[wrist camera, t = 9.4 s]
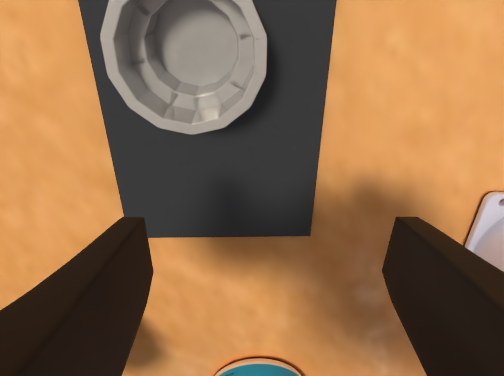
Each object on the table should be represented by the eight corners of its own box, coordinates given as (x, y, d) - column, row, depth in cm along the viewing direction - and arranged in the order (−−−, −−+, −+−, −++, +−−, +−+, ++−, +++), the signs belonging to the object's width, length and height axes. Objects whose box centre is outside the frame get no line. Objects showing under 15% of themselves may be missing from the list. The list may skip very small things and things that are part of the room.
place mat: (361, -248, 12) (365, -255, 11) (308, 232, 22) (310, 236, 21) (28, -256, 11) (21, -264, 11) (130, 233, 21) (128, 238, 21)
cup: (262, -35, 14) (269, -42, 11) (260, 105, 17) (264, 134, 14) (122, -37, 14) (83, -45, 11) (143, 105, 17) (118, 135, 14)
